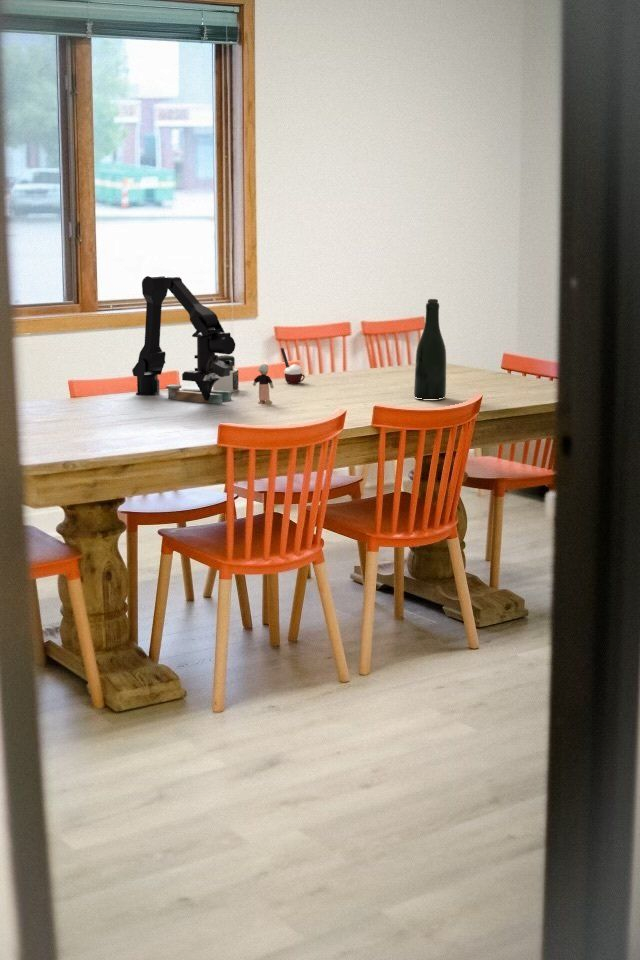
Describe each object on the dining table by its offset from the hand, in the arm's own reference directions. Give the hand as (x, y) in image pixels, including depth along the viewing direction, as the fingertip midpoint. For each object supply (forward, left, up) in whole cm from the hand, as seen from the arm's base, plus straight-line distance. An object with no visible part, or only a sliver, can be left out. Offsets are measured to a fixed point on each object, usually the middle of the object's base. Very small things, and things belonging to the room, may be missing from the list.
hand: (206, 400), depth 394 cm
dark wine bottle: (+69, +26, -1) cm, 74 cm away
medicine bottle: (-1, +26, -1) cm, 26 cm away
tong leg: (-4, +3, -1) cm, 5 cm away
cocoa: (+18, +47, -1) cm, 51 cm away
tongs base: (-5, +8, -1) cm, 9 cm away
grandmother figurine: (+17, +6, -1) cm, 19 cm away
